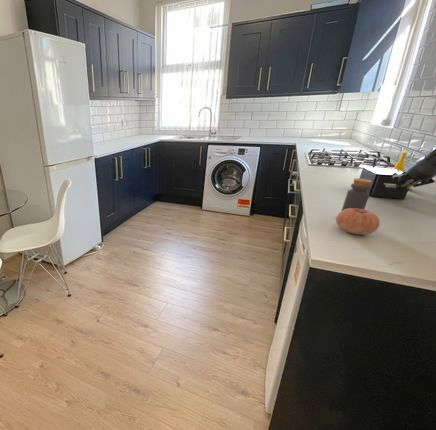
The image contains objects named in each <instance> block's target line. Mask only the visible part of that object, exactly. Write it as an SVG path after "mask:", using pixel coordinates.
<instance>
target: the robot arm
mask: <svg viewBox="0 0 436 430" xmlns="http://www.w3.org/2000/svg"><path fill="white" fill-rule="evenodd" d="M392 176H393V181H394V182H395V184H396V190H397V191H403V190H405V189H406V188H408V187H411V186H413V188H417V187H421V186H426V185H430V184H433V183H435V177H436V145H435V146H433V147H432V148H430V149H429V151H427V152H425V153H424V154H423V155H421V156H420V157H419V158H418V159H417V160H416V161H414V162H413V163H412V164H411V165H409V166H408V167H407V169H406V170H404V172H402V174H398V175H397V174H396V173H393V174H392ZM401 177H402V178H403V179H402V180H400V178H401Z"/></svg>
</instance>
